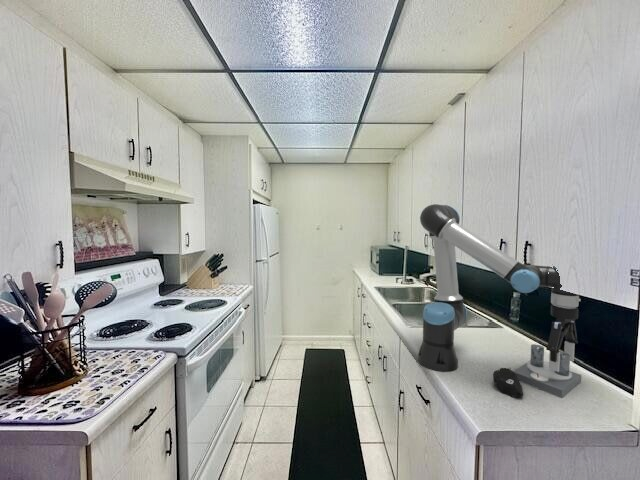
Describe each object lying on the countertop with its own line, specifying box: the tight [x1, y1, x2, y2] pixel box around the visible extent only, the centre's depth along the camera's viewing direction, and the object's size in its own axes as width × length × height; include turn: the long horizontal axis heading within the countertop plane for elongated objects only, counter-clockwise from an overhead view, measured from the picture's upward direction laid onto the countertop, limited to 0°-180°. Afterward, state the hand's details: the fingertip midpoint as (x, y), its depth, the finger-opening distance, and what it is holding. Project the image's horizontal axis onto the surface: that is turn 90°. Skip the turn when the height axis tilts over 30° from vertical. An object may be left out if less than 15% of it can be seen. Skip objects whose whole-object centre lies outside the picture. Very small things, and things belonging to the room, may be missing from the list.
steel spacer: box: [555, 351, 571, 376], centre depth 106 cm, size 4×4×7 cm
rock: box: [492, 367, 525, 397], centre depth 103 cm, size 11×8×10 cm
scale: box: [512, 360, 582, 399], centre depth 108 cm, size 18×15×4 cm
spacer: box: [529, 343, 545, 367], centre depth 112 cm, size 4×4×7 cm
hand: (561, 364), depth 106 cm, fingers open, 13 cm apart
